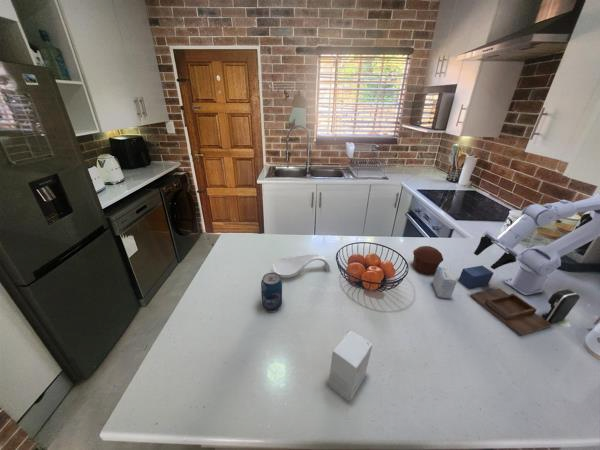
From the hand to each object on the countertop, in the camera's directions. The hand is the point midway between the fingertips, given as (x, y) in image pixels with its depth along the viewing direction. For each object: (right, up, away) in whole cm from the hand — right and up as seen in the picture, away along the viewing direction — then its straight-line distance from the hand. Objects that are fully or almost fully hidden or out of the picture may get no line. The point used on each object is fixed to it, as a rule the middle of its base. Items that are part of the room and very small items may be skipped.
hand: (483, 261), depth 92 cm
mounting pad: (+5, -17, -5) cm, 18 cm away
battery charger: (+17, -18, -8) cm, 26 cm away
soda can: (-78, -14, -7) cm, 80 cm away
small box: (-57, -27, -29) cm, 69 cm away
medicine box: (-15, -12, +2) cm, 19 cm away
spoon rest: (-68, -6, +10) cm, 69 cm away
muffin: (-15, -5, +15) cm, 22 cm away
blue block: (+1, -10, +8) cm, 13 cm away
